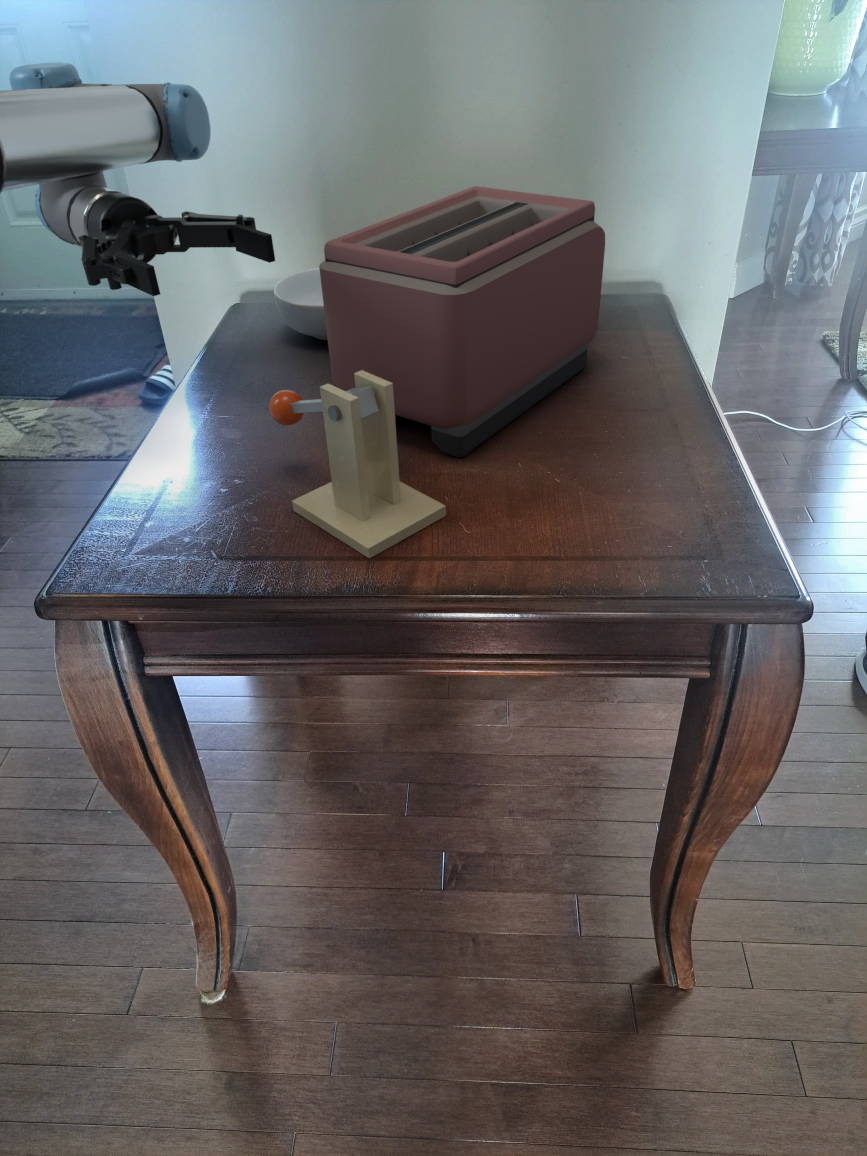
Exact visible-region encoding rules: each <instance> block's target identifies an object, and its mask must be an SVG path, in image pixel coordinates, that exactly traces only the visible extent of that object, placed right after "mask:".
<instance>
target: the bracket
mask: <svg viewBox="0 0 867 1156" xmlns="http://www.w3.org/2000/svg"><path fill="white" fill-rule="evenodd" d="M354 377H355V387H366V386H372V388H373V391H374V395H375V398H376V401H377V404H378V408H379V412H377V413H375V414H372V415H370V416H368V417H366V418H363V419H361V416H360V405H359V397H357V396H354V395H352V394H350V393H348V392H346V391H344V390H341V389H339V388H337V387H336V385H332V384H331V383H326V384H323V385H321V386H319V393H320V399H321V401H322V409H323V412H322V415H323V416H322V417H323V424H324V425H323V426H324V433H325V439H326V448H327V455H328V456H327V457H328V464H329V471H330V478H331V481H330V482H327V483H326V484H324V485H321V486H320V487H318V488H315V489H314V490H311V491H309V492H307V493H305V494H303V495H301V496H298V497H297V498H294V499H293V500H291V504H292V505H291V506H292V510H293V512H295V513H296V514H298V515H299V516H301V517H303V518H304V519H306V520H308V521H309V522H311V523H312V524H314V525H315V526H317V527H318V528H320V529H322V530H323V531H325V532H326V533H328V534H330V535H331V536H333V537H335V538H336V539H337V540H339V541H341V542H342V543H343V544H345V545H347V546H348V547H350V548H352V549H353V550H354V551H357V552H358V553H360V555H361V554H362V555H363V556H365V557H366V558H367V559H372V558H373V557H375V556H377V555H378V554H379V555H380V553H382V552H384V551H386V550H387V549H389V548H391V547H393V546H395V545H397V544H398V543H400V542H402V541H403V540H406V539H407V538H409V537H411V536H413V535H414V534H416V533H418V532H420V531H422V530H423V529H425V528H427V527H428V526H430V525H432V524H434V523H436V522H437V521H439V520H441V519H443V518H445V517H446V516H447V505H446V504H443V503H442V502H440V501H438V500H436V499H434V498H432V497H430V496H429V495H427V494H425V493H424V492H421V491H419V490H417V489H415V488H413V487H411V486H410V485H407V484H406V483H404V482H402V481H401V480H400V469H399V466H400V465H399V453H398V441H397V440H398V439H397V426H396V425H397V424H396V415H395V409H394V395H393V383H391V382H389V381H386V380H384V379H382V378H379V377H377V376H375V375H372V374H370V373H368V372H365V371H363V370H361V371H358V372H356V373H354Z"/></svg>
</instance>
